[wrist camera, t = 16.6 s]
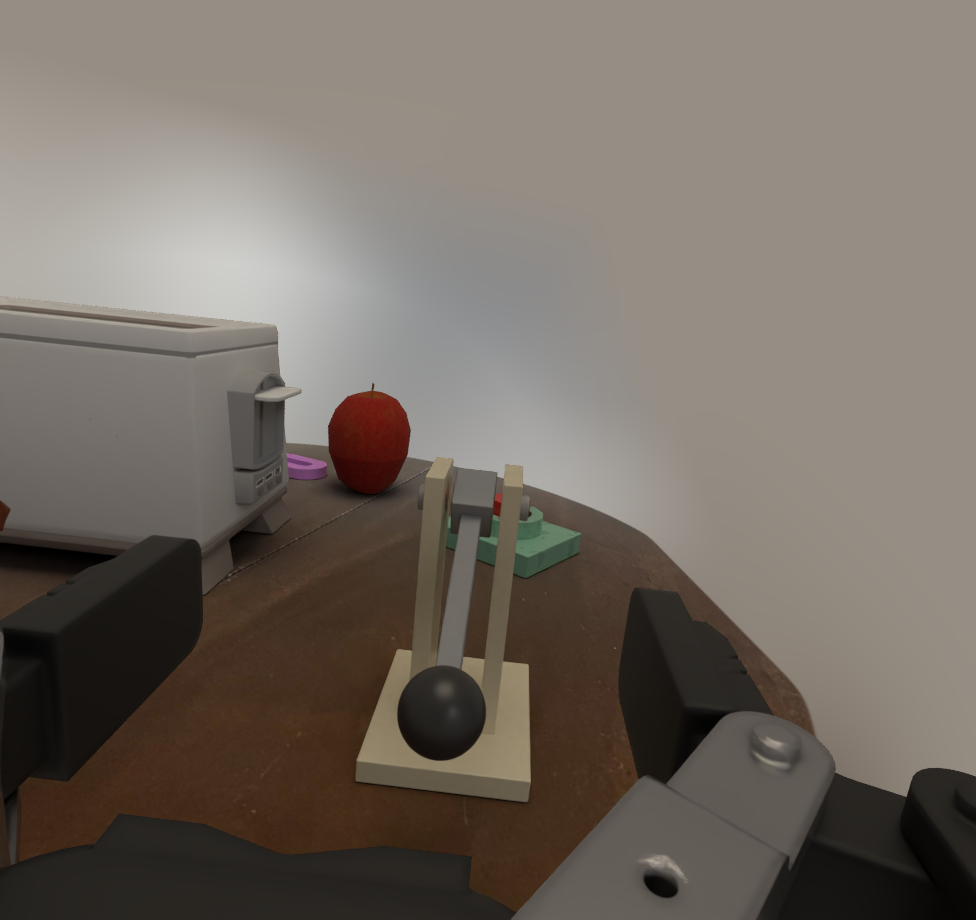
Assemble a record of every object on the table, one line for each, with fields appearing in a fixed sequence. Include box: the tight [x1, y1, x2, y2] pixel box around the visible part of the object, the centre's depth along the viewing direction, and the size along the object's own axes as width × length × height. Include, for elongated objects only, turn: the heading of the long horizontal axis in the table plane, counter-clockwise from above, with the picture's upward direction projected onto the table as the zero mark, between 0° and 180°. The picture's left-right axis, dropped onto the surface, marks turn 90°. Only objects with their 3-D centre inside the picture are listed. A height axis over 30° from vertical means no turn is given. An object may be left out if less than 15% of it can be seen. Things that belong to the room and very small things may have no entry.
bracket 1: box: [287, 453, 327, 480], centre depth 87 cm, size 13×6×7 cm, turn 65°
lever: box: [397, 468, 497, 761], centre depth 30 cm, size 15×4×4 cm, turn 177°
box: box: [446, 506, 581, 578], centre depth 66 cm, size 12×10×4 cm
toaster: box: [0, 297, 301, 595], centre depth 58 cm, size 19×34×21 cm, turn 87°
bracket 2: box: [355, 457, 531, 802], centre depth 36 cm, size 11×9×16 cm
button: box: [493, 493, 530, 517], centre depth 66 cm, size 4×4×2 cm
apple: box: [328, 384, 411, 494], centre depth 80 cm, size 10×10×14 cm
